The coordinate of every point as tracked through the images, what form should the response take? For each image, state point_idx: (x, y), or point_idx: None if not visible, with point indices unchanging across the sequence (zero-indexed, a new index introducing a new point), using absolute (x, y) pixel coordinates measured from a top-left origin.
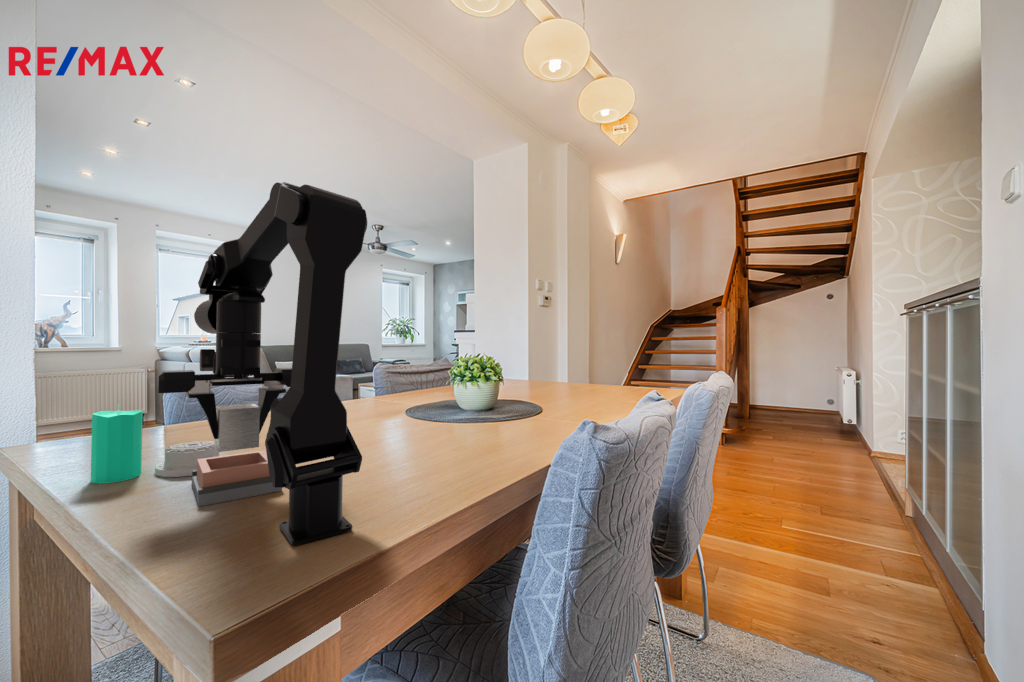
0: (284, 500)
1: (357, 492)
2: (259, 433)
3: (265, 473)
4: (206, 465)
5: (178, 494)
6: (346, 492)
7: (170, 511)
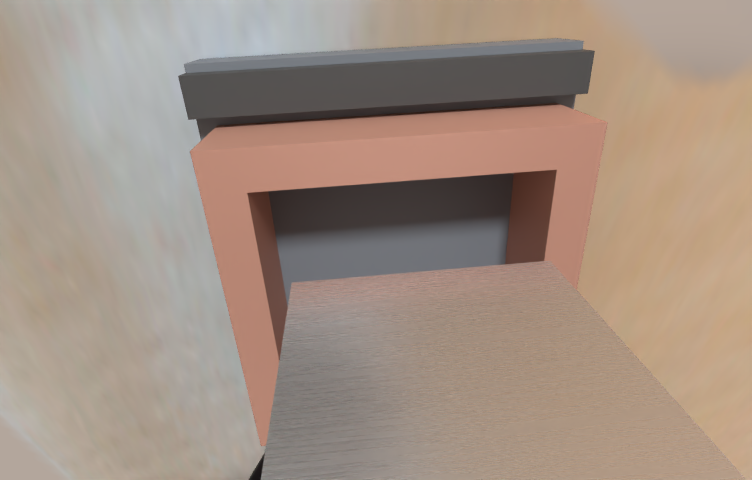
0: None
1: None
2: None
3: None
4: (264, 336)
5: (175, 215)
6: None
7: (192, 386)
